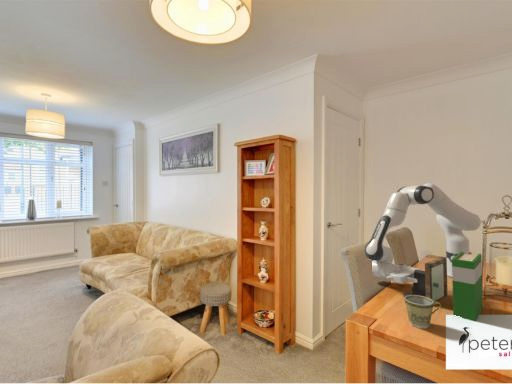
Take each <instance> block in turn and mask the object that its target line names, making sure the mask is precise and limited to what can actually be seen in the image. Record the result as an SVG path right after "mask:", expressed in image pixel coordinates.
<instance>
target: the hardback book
mask: <svg viewBox="0 0 512 384" xmlns="http://www.w3.org/2000/svg"><path fill="white" fill-rule="evenodd" d="M482 259H483V257H482V253H478V254H472V253H471V254H463V252H460V253H459V254H458V255H456V256H455V257H454V258H453V259H452V277H451V278H452V307H453V308H452V310H453V311H452V312H453V315H456V316H460V317H462V318H461V319H464V320H468V321H472V322H476V321H477V320H478V318H479V316H480V314H481V312H482V310H483V308H484V306H483V302H484V301H483V299H484V298H483V266H482V265H483V262H482ZM456 316H455V317H456ZM460 317H459V318H460Z"/></svg>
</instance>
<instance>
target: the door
mask: <svg viewBox="0 0 512 384" xmlns="http://www.w3.org/2000/svg"><path fill="white" fill-rule="evenodd" d="M443 297H445V296H444V275H443V263H442V264H440V265H437V266H435V267H433V268H432V300H433V302H437V300H439V299H441V298H443Z"/></svg>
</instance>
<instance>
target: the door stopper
mask: <svg viewBox="0 0 512 384" xmlns="http://www.w3.org/2000/svg"><path fill="white" fill-rule="evenodd" d="M414 278H416V279H418V282H417V283H414V282H412V284H413V285H412V287H411V288H412V290H411V292H412V295H419V296H424V297H426V292H425V270H421V269H420V270H415V271H414Z"/></svg>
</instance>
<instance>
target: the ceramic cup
mask: <svg viewBox="0 0 512 384" xmlns="http://www.w3.org/2000/svg"><path fill="white" fill-rule="evenodd" d="M404 296H405V295H404ZM404 304H405V308H406V313H407V316H408V321H409V324H410V326H412V327H414V328H418V329H422V330H424V329H425V330H426V329H428V328H429V327H431V321H432V315H433V314H435V313H436V312H437V311H438V310H440V309H441V307H442V304H441V303H440V302H439V301H434V302H433V300H431V299H429V298H427V297H424V296H419V295H408V296H405V297H404ZM437 304H439V306H438V308H436V309H434V305H437Z"/></svg>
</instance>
